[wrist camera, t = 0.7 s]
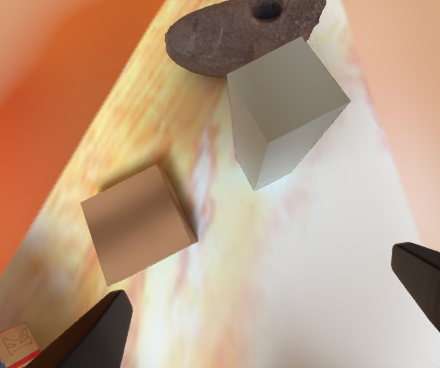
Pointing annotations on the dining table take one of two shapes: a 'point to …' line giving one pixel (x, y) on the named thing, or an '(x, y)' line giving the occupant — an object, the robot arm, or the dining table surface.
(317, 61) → the column
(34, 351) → the stack of blocks
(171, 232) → the base block
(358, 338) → the dining table surface
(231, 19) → the perforated stone tool
